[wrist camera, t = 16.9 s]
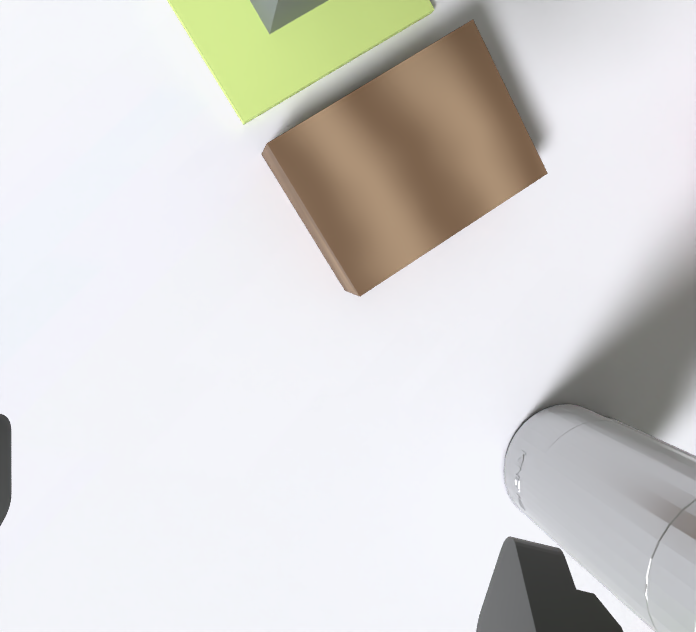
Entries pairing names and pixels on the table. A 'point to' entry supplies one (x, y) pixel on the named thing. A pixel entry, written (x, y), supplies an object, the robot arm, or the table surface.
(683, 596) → the robot arm
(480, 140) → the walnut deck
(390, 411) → the table surface
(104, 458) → the table surface
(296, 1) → the tall gray post
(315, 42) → the green mat
